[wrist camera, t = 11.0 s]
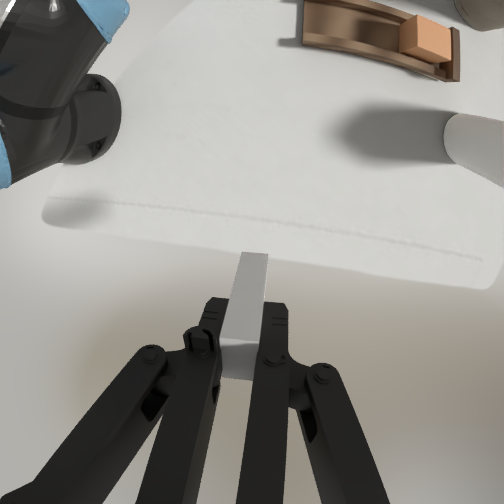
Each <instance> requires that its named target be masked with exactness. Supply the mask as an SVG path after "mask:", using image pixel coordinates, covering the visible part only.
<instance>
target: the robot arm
mask: <svg viewBox="0 0 504 504" xmlns="http://www.w3.org/2000/svg"><path fill="white" fill-rule="evenodd" d="M129 11H130V7H129V4H128V2H127V1H126V0H0V189H2V188H8V187H9V186H10V185H12V184H13V183H15V182H17V181H19V180H21V179H23V178H25V177H27V176H29V175H31V174H33V173H36V172H38V171H40V170H42V169H44V168H47V167H49V166H51V165H53V164H56V163H67V164H84V163H87V162H90V161H93V160H95V159H97V158H99V157H101V156H102V155H103V154H104V153H106V152H107V151H108V149H109V148H110V147H111V145H112V144H113V142H114V140H115V138H116V136H117V134H118V131H119V127H120V123H121V102H120V98H119V95H118V92H117V90H116V88H115V87H114V85H113V84H112V83H111V82H110V81H109V80H108V79H107V78H105V77H103V76H101V75H97V74H87V72H88V71H89V69H90V68H91V67H92V65H93V64H94V62H95V61H96V59H97V58H98V56H99V55H100V53H101V52H102V51H103V50H104V48H105V47H106V46H107V44H109V43H110V42H111V41H112V37H113V36H114V34H115V33H116V31H117V30H118V29H119V28H120V26H121V25H122V24H123V22H124V21H125V20H126V18H127V17H128V14H129ZM267 264H268V254H262V253H250V252H242V253H241V257H240V261H239V265H238V268H237V272H236V276H235V280H234V284H233V287H232V291H231V295H230V299H225V298H216V297H212V298H211V299H210V300H209V301H208V302H207V303H206V306H205V308H204V312H203V314H202V317H201V320H200V322H199V325H198V326H195V327H192V328H190V329H188V330H187V331H186V332H185V333H184V334H183V339H184V343H185V348H184V349H182V350H178V351H170V352H169V351H168V352H165V351H164V349H163V348H162V347H160V346H158V345H146V346H144V347H142V348H141V349H139V350H138V351H137V353H136V354H135V355H134V356H133V357H132V358H131V359H130V361H129V362H128V363H127V364H126V366H125V367H124V368H123V369H122V370H121V371H120V373H119V374H118V375H117V376H116V377H115V379H114V380H113V381H112V382H111V384H110V385H109V386H108V387H107V388H106V389H105V391H104V392H103V393H102V394H101V396H100V397H99V398H98V399H97V400H96V402H95V403H94V404H93V405H92V407H91V408H90V409H89V410H88V411H87V413H86V414H85V415H84V416H83V418H82V419H81V420H80V421H79V423H78V424H77V425H76V426H75V428H74V429H73V430H72V431H71V433H70V434H69V435H68V436H67V438H66V439H65V440H64V441H63V443H62V444H61V445H60V447H59V448H58V449H57V450H56V452H55V453H54V454H53V456H52V457H51V458H50V459H49V461H48V462H47V463H46V465H45V466H44V467H43V469H42V470H41V471H40V472H39V474H38V475H37V476H36V478H35V479H34V480H33V481H32V482H30V483H28V484H26V485H24V486H22V487H20V488H18V489H16V490H14V491H12V492H10V493H7V494H5V495H4V496H2V497H1V499H0V504H102V503H103V502H104V501H105V499H106V498H107V496H108V495H109V493H110V492H111V490H112V489H113V487H114V486H115V484H116V483H117V482H118V480H119V479H120V477H121V476H122V474H123V473H124V471H125V470H126V468H127V467H128V465H129V464H130V463H131V461H132V460H133V458H134V457H135V455H136V454H137V452H138V451H139V449H140V448H141V446H142V445H143V443H144V442H145V440H146V438H147V437H148V436H149V434H150V433H151V431H152V430H153V428H154V427H155V425H156V424H157V422H158V421H159V419H160V417H161V416H162V415H163V417H162V420H161V423H160V426H159V429H158V432H157V435H156V438H155V442H154V444H153V448H152V451H151V454H150V457H149V460H148V464H147V467H146V471H145V474H144V477H143V481H142V484H141V487H140V490H139V494H138V497H137V500H136V503H135V504H196V502H197V497H198V492H199V488H200V483H201V478H202V473H203V468H204V463H205V459H206V454H207V449H208V444H209V440H210V434H211V430H212V425H213V421H214V416H215V411H216V406H217V402H218V397H219V392H220V379H221V374H222V377H226V378H234V379H242V380H251V381H253V385H252V393H251V401H250V408H249V416H248V423H247V430H246V437H245V444H244V445H245V446H244V452H243V458H242V465H241V472H240V479H239V486H238V492H237V499H236V504H283V495H284V481H285V465H286V448H287V428H288V407H290V408H293V409H296V412H297V416H298V419H299V423H300V426H301V430H302V434H303V437H304V441H305V444H306V448H307V452H308V455H309V459H310V463H311V466H312V470H313V474H314V477H315V481H316V485H317V488H318V492H319V496H320V499H321V503H322V504H390V502H389V500H388V497H387V494H386V491H385V488H384V486H383V483H382V480H381V477H380V475H379V472H378V469H377V467H376V464H375V462H374V459H373V456H372V454H371V451H370V448H369V446H368V443H367V441H366V438H365V436H364V433H363V431H362V428H361V426H360V423H359V421H358V418H357V416H356V413H355V411H354V408H353V406H352V403H351V401H350V398H349V396H348V394H347V391H346V389H345V386H344V384H343V382H342V379H341V377H340V374H339V373H338V371H337V369H336V368H334V367H333V366H332V365H330V364H326V363H317V364H314V365H312V366H311V367H309V366H305V365H302V364H300V363H298V362H296V361H295V360H293V359H292V357H291V356H290V354H289V352H288V309H287V307H286V306H285V304H284V303H275V302H264V300H265V290H266V278H267V277H266V276H267Z"/></svg>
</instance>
